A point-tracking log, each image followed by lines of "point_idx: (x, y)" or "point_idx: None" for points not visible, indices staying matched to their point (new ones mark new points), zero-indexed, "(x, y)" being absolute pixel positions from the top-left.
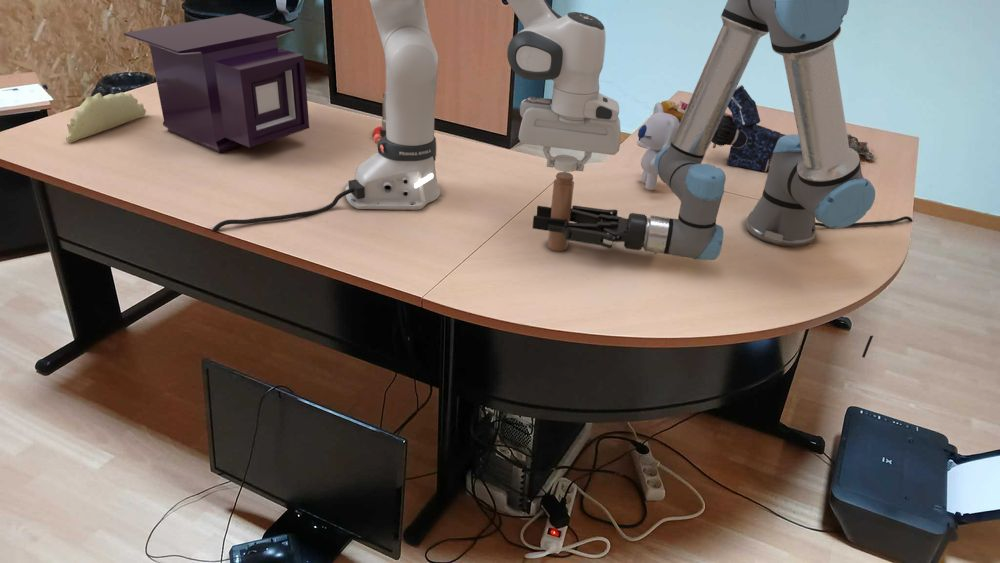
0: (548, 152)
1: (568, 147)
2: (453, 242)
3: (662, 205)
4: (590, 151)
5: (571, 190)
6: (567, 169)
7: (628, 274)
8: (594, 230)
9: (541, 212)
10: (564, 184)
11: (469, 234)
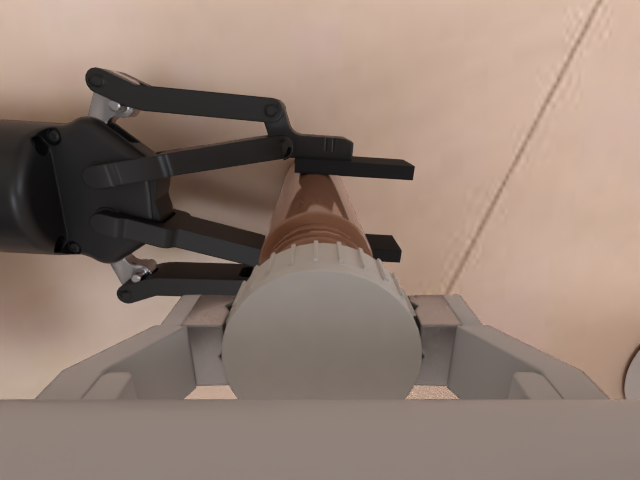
0: (497, 392)
1: (313, 414)
2: (610, 134)
3: None
4: (5, 402)
5: (270, 226)
6: (299, 250)
7: (85, 65)
8: (180, 150)
9: (380, 243)
10: (310, 225)
11: (560, 193)
